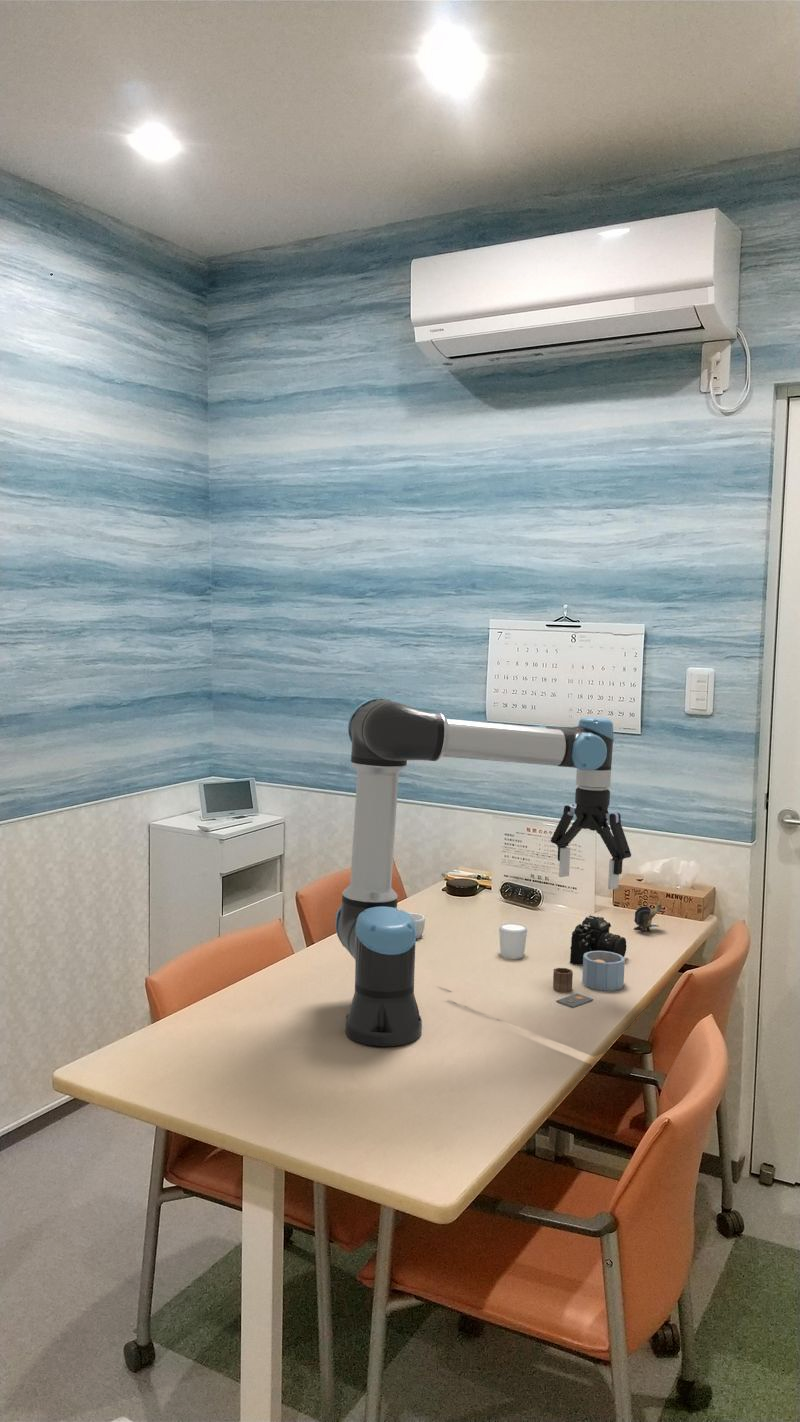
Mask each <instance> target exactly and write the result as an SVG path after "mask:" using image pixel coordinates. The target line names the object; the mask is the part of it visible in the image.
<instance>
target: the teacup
mask: <svg viewBox="0 0 800 1422" xmlns="http://www.w3.org/2000/svg"><path fill="white" fill-rule="evenodd" d="M407 913H408V914H410V915H411V916H412V918H413V919H414V921H415V930H416V940H417V939H419V938H421V937H422V935H423V933H424V931H425V923H426V922H425V921H426V917H425V916H424V914H420V913H415V912H407Z"/></svg>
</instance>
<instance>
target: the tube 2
mask: <svg viewBox="0 0 800 1422" xmlns="http://www.w3.org/2000/svg"><path fill="white" fill-rule="evenodd" d="M625 959H626V958H625V956H624V957H623V956H621V955H620V954H616V953H613V952H607V951H590V952H587V953H584V956H583V964H582V976H581V977H582V984H583V985H585V986H586V987H588V988H590V989H593V990H600V991H617V990H621V989H622V988H624V985H625V964H626V963H625V961H626V960H625ZM594 960H603V961H605V962H597V961H594Z"/></svg>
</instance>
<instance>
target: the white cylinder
mask: <svg viewBox="0 0 800 1422" xmlns="http://www.w3.org/2000/svg"><path fill="white" fill-rule="evenodd" d="M498 930H499V931H498V933H499V951H500V956H501V957H503V958H506V959H510V960H511V959H512V960H515V959H517V960H518V959H521V958H523V957H524V956H525V949H526V942H527V936H528V935H527V934H528V927H527V926H526V925H523V924H518V923H504V924H500V925H499V927H498Z"/></svg>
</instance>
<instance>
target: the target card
mask: <svg viewBox="0 0 800 1422" xmlns="http://www.w3.org/2000/svg"><path fill="white" fill-rule="evenodd" d="M593 1001H594V998H593V997H589V996H586V995H583V994H581V993H577V992H576V993H574V994H571V995H567V996H565V997H562V998H560V999H557V1000H555V1002H556V1003H558V1004H560V1005H561V1004H562V1005H564V1006H567V1007H569V1008H571V1009H574V1008H577V1007H580V1006H582V1005H584V1004H587V1003H591V1002H593Z"/></svg>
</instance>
